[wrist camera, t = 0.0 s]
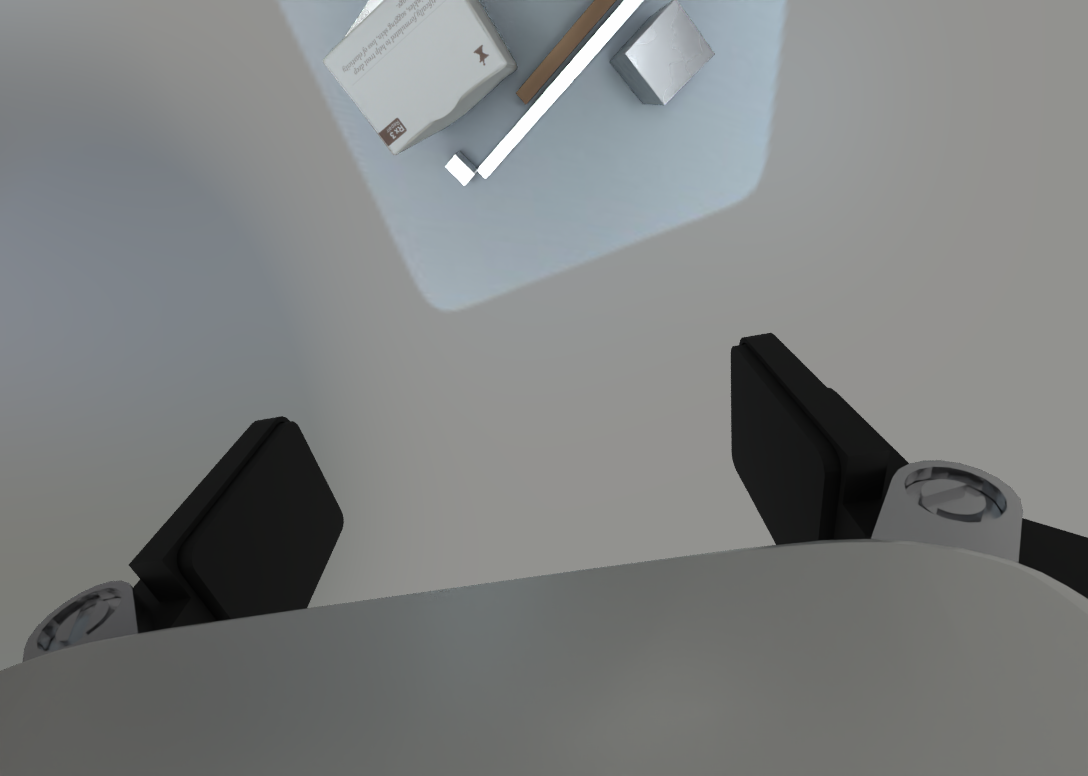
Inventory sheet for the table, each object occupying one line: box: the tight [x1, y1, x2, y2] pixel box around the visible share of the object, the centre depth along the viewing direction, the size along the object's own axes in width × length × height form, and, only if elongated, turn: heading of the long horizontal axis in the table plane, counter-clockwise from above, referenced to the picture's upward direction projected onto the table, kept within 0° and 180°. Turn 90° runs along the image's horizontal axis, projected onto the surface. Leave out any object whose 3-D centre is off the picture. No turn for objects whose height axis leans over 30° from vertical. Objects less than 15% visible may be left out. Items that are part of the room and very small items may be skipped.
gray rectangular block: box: [610, 0, 715, 105], centre depth 36 cm, size 4×4×8 cm
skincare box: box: [323, 0, 517, 155], centre depth 33 cm, size 8×6×15 cm
